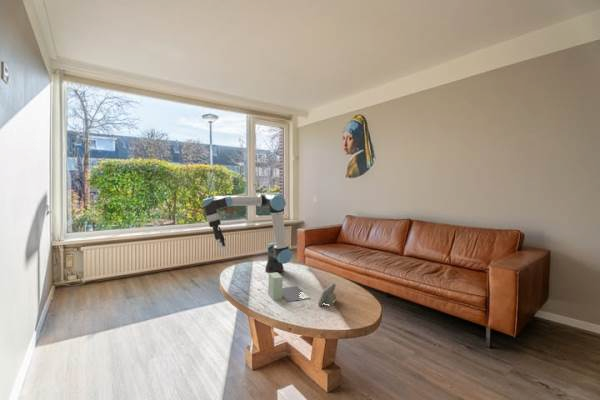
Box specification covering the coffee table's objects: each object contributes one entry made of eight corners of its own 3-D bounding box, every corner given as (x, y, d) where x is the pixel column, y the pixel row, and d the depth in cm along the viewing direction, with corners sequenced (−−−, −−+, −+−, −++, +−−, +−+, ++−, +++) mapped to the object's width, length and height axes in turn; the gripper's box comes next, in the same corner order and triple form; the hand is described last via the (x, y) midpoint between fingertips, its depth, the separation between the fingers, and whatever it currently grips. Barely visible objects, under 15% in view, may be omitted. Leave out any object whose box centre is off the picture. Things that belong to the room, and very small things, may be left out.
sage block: (276, 292, 190) (277, 272, 189) (282, 298, 181) (282, 277, 180) (268, 294, 187) (268, 273, 186) (273, 300, 178) (273, 278, 177)
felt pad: (296, 286, 202) (296, 285, 202) (310, 298, 182) (310, 297, 182) (275, 289, 196) (275, 288, 196) (287, 302, 176) (287, 301, 176)
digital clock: (328, 297, 186) (329, 281, 185) (340, 301, 180) (341, 284, 179) (313, 304, 173) (314, 287, 173) (325, 309, 168) (326, 291, 167)
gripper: (205, 221, 204) (214, 249, 206) (211, 222, 182) (221, 253, 184) (215, 217, 207) (224, 245, 210) (223, 219, 185) (232, 249, 188)
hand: (222, 249), depth 197 cm, fingers open, 13 cm apart
